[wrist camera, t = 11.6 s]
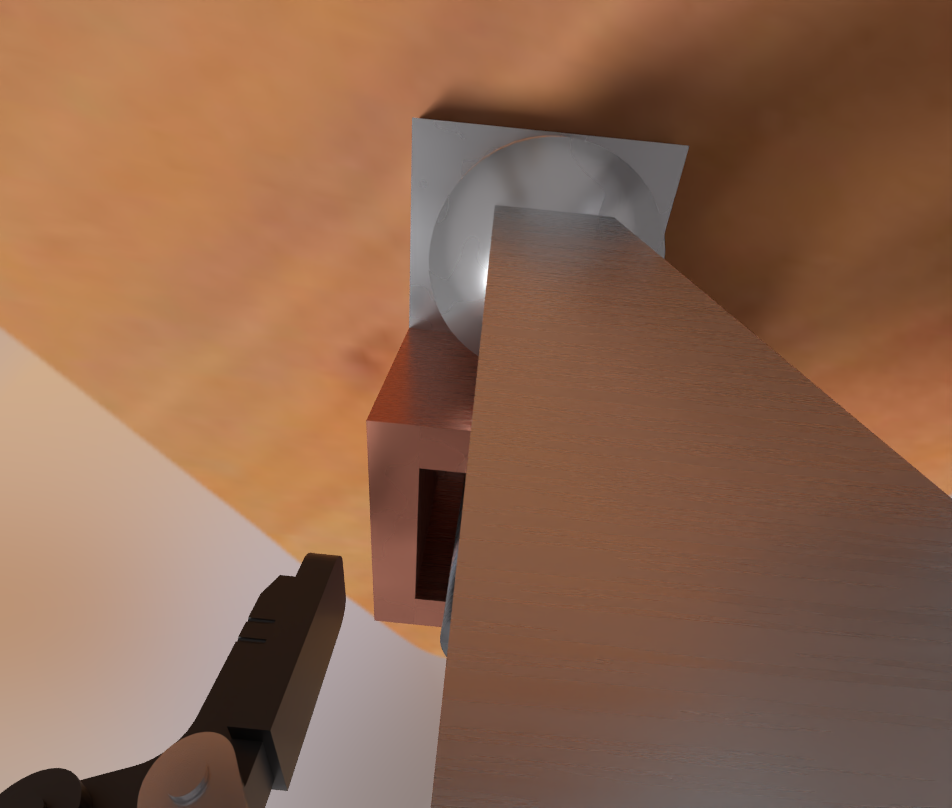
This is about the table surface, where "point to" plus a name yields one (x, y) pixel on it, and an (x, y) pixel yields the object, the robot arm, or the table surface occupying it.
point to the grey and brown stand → (640, 513)
